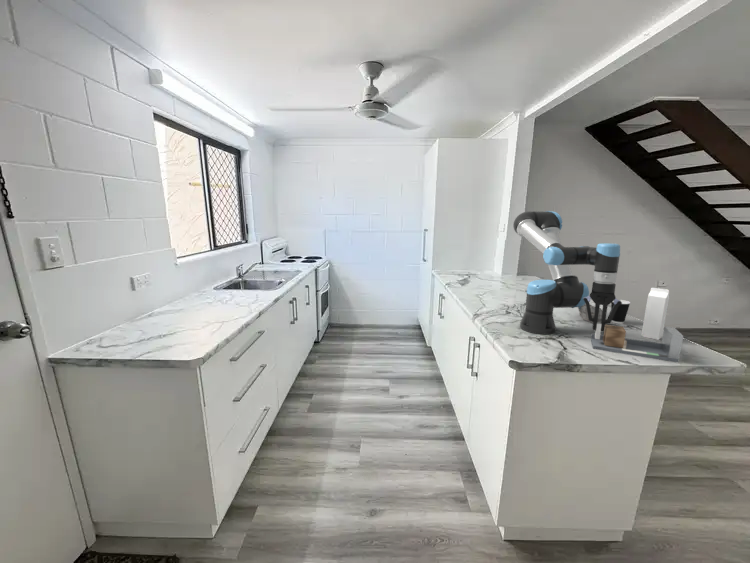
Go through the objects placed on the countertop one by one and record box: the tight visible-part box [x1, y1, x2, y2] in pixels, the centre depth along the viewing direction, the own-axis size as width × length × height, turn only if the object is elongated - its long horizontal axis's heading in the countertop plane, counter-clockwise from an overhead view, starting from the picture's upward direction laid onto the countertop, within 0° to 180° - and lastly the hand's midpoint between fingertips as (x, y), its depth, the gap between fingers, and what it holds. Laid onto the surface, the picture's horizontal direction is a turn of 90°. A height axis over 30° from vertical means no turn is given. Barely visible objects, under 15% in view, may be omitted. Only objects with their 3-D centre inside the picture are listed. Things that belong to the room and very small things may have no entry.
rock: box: [577, 303, 603, 324], centre depth 162 cm, size 16×8×10 cm, turn 175°
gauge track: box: [590, 333, 680, 363], centre depth 126 cm, size 26×10×3 cm, turn 61°
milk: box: [641, 287, 670, 341], centre depth 138 cm, size 6×6×22 cm
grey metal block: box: [660, 325, 684, 360], centre depth 120 cm, size 3×10×9 cm, turn 151°
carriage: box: [603, 324, 627, 349], centre depth 128 cm, size 7×7×7 cm
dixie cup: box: [610, 299, 632, 325], centre depth 159 cm, size 8×8×11 cm
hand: (597, 338), depth 131 cm, fingers closed
